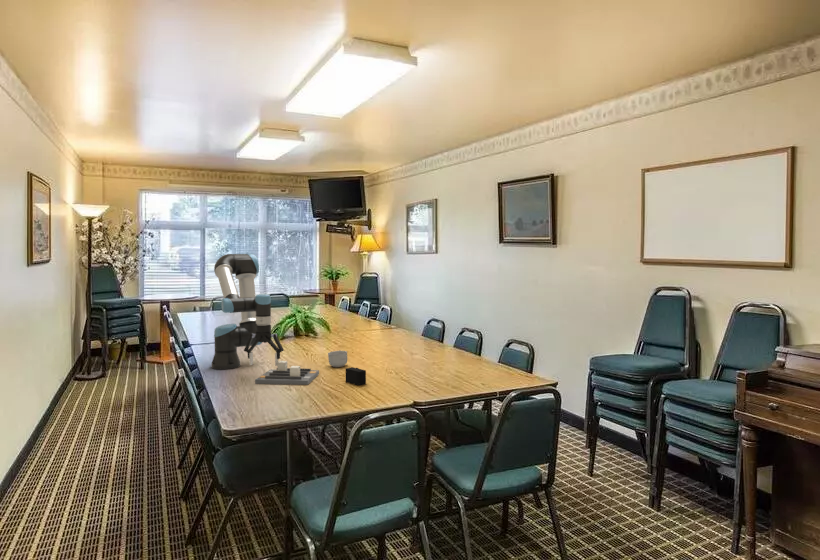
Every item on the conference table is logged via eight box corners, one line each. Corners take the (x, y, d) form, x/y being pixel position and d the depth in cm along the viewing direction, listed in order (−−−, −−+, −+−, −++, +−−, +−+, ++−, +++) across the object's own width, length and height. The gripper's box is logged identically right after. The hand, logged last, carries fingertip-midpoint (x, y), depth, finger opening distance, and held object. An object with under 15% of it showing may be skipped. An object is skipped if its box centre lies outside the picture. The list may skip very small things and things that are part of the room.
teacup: (343, 368, 279) (343, 354, 278) (325, 367, 281) (325, 353, 280) (351, 363, 292) (351, 349, 292) (333, 362, 294) (333, 348, 294)
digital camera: (368, 384, 246) (368, 369, 246) (359, 386, 242) (359, 371, 242) (353, 380, 253) (353, 366, 253) (345, 382, 249) (345, 368, 249)
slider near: (289, 377, 249) (289, 367, 248) (292, 375, 253) (292, 365, 252) (297, 377, 248) (297, 367, 248) (300, 375, 252) (300, 366, 252)
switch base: (255, 383, 246) (255, 377, 246) (270, 373, 268) (270, 367, 268) (307, 384, 244) (307, 378, 244) (319, 374, 266) (319, 368, 266)
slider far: (277, 372, 260) (277, 362, 260) (279, 370, 264) (279, 360, 264) (285, 372, 260) (284, 362, 260) (287, 370, 264) (287, 361, 264)
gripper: (236, 325, 259) (237, 366, 259) (284, 325, 257) (285, 367, 258) (242, 323, 266) (243, 363, 267) (289, 323, 264) (289, 363, 265)
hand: (264, 365), depth 262 cm, fingers open, 13 cm apart
